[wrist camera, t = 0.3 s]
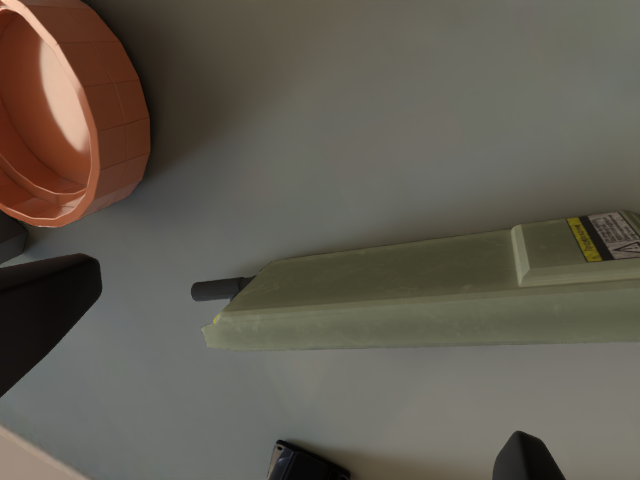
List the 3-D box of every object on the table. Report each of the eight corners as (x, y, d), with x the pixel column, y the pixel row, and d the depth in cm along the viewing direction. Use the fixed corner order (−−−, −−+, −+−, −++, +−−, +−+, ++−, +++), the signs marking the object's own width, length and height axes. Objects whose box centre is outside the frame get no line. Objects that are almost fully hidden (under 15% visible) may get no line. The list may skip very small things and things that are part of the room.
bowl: (158, 226, 28) (107, 256, 24) (9, 169, 31) (-57, 188, 27) (156, 10, 21) (87, 5, 18) (-33, -39, 24) (-129, -53, 20)
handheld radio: (644, 266, 19) (216, 304, 29) (642, 198, 18) (199, 263, 28) (715, 358, 13) (151, 364, 24) (715, 266, 12) (127, 315, 23)
